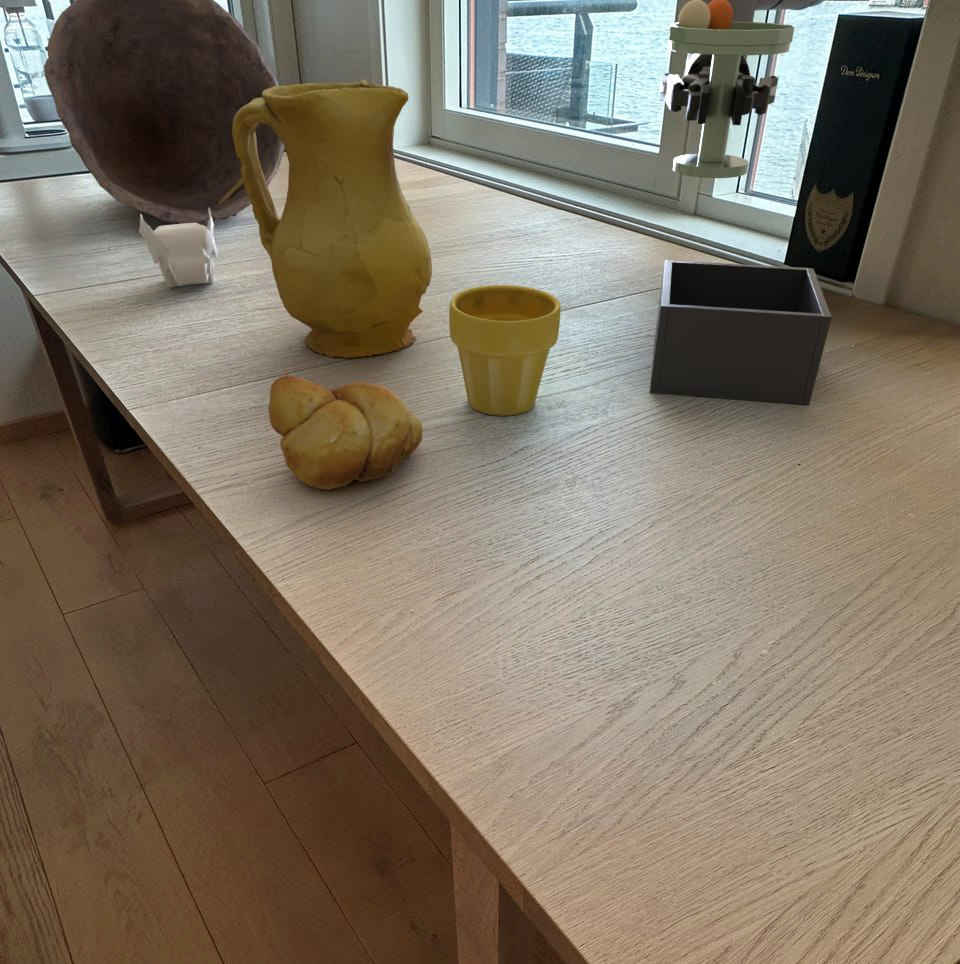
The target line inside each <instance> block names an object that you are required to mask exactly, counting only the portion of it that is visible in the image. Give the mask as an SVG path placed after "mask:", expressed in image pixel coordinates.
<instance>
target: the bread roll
mask: <svg viewBox="0 0 960 964" xmlns="http://www.w3.org/2000/svg"><path fill="white" fill-rule="evenodd" d="M269 393H270V395H269V403H268V410H267V411H268V419H269V423H270V426H271V428H272V429H273V431H274V432H276V433H277V434H278V435H280V436H281V437H282V438H281V439H280V442H279V443H280V449H281V451H282V454H283V457H284V461H285V467H287V468H288V469H289V470H290V472H291V473H292V474H293V475H294V476H295V477H296V478H297V479H299V481H301V482H302V483H303V484H305V485H307V486H309V487H311V488H315V489H319V490H331V489H336V488H340V487H345V486H346V485H349V484H350V483H351V482H352V481H354V480H356V481H357V482H367V481H371V480H375V479H376V480H377V479H380V478H383V477H386V476H389V475H392V474H393V473H394V472H395V471H396V470H397V469H398V466H399V465H400V464H401V462H403V461H405V460H408V459H409V458H410V457H411V456H412V455H413V453H414V452H415V451H416V450H417V449H418V447H419V446H420V444H421V442H422V440H423V424H422V422H421V421H420V420H419V418H418V417H417V416H416V415H415V414H413V413H412V412H411V411H409V410H408V408H407V406H406V404H405V403H404V401H403V400H402V399H401V398H400V397H399V396H398V395H397V394H396V393H395V392H393V391H392V390H391V389H388V388H386V387H384V386H382V385H381V384H378V383H373V382H367V381H357V382H352V381H351V382H348V383H345V384H342V385H341V386H339V387H337V388H334V389H330V388H328V387H325V386H323V385H320V384H318V383H315V382H313V381H310V380H308V379H304V378H302V377H300V376H295V375H288V374H286V375H285V376H281V377H279V378H277V379H275V380H274V381H273V382H272V384H271V385H270V391H269Z"/></svg>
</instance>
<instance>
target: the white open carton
mask: <svg viewBox="0 0 960 964" xmlns="http://www.w3.org/2000/svg"><path fill="white" fill-rule="evenodd" d="M208 212H209V217H210V218H209V221H207V224H206V225H207V226H206V225H204V224H199V223H185V224H179V223H177V224H176V223H175V224H166V225H165V224H164V225H159V226H157V227H156V228H155V230H153V229H152V228H151V226H150V225H149V224H148V223H147V222H146V221H145V220H144V218H143V215H142V213H140V214H139V230H138V233H139V234H140V235H141V236H142V237H143V238H144V239H145V241H146V248H147V251H148V252H149V254H150V256H151V257H152V261H153V263H154V264H156V265H157V264H158V267H159V269H160V272H161V274H162V278H163V279H164V281H165V284H166V285H167V287H168V286H170V287H171V288H173V287H172V286H180V285H183V286H186V285H194V284H196V285H197V284H198V283H206V284H209V283H208V282H212V283H214V277H215V264H214V259H213V257H214V258H218V256H219V254H218V253H219V252H218V248H217V245H216V241H215V236H214V227H215V224H214V220H212V217H211V211H210V208H209V207H208ZM212 256H213V257H212ZM170 287H169V288H170Z"/></svg>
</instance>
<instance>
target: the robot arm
mask: <svg viewBox="0 0 960 964" xmlns="http://www.w3.org/2000/svg"><path fill="white" fill-rule="evenodd" d="M701 1H703V2H705V3H706V4H707V5H708V4H709V3H710V2H711V1H713V0H701ZM726 1H727V2H729V3H730V5H731V7H732V9H733V21H732V22H754V18H755V12H756V11H780V10H781V11H783V10H784V11H785V10H790V11H802V10H805V9H808V8H812V7H816V6H818V5H820V4H822V3H824V2H825V1H826V0H726ZM686 57H687V58H686V61H685V66H684V67H685V68H684V71H683V76H682V78H681V77H680V75H679V74H671V73H670V72H664V73H662V74H661V77H660V85H659V86H660V87H659V95H658V99H659V100H660V101H662V102H665V103H666V105H667V107H668V109H669V110H670V111H671V112H673V113H678V112H681V111H682V107H686V114H685V121H690V122H691V121H696V122H697V125H703V124H705V121H706V114H707V107H708V100H709V79H710V72H711V65H712V57H713V55H706V54H692V53H687V56H686ZM747 60H748V55H741V58H740V64H739V71H738V77H737V83H736V89H735V95H734V102H733V108H732V114H731V124H732V126H741V124H742V119H743V116H746V115H749V114H752V112H753V109H754V112H753V113H754V114H757V116H762V115H764V114H766V113H767V109H768V106H769V105H771V104H774V103H775V100H776V99H775V98H776V94H777V88H778V83H779V77H778V76H776V75H770V76H767V77H766V76H765V77H763V76H762V77H759V83H757V80H756V78H755V77H754V76H752V75H751V71H750V66H749V64H748V61H747Z"/></svg>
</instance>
